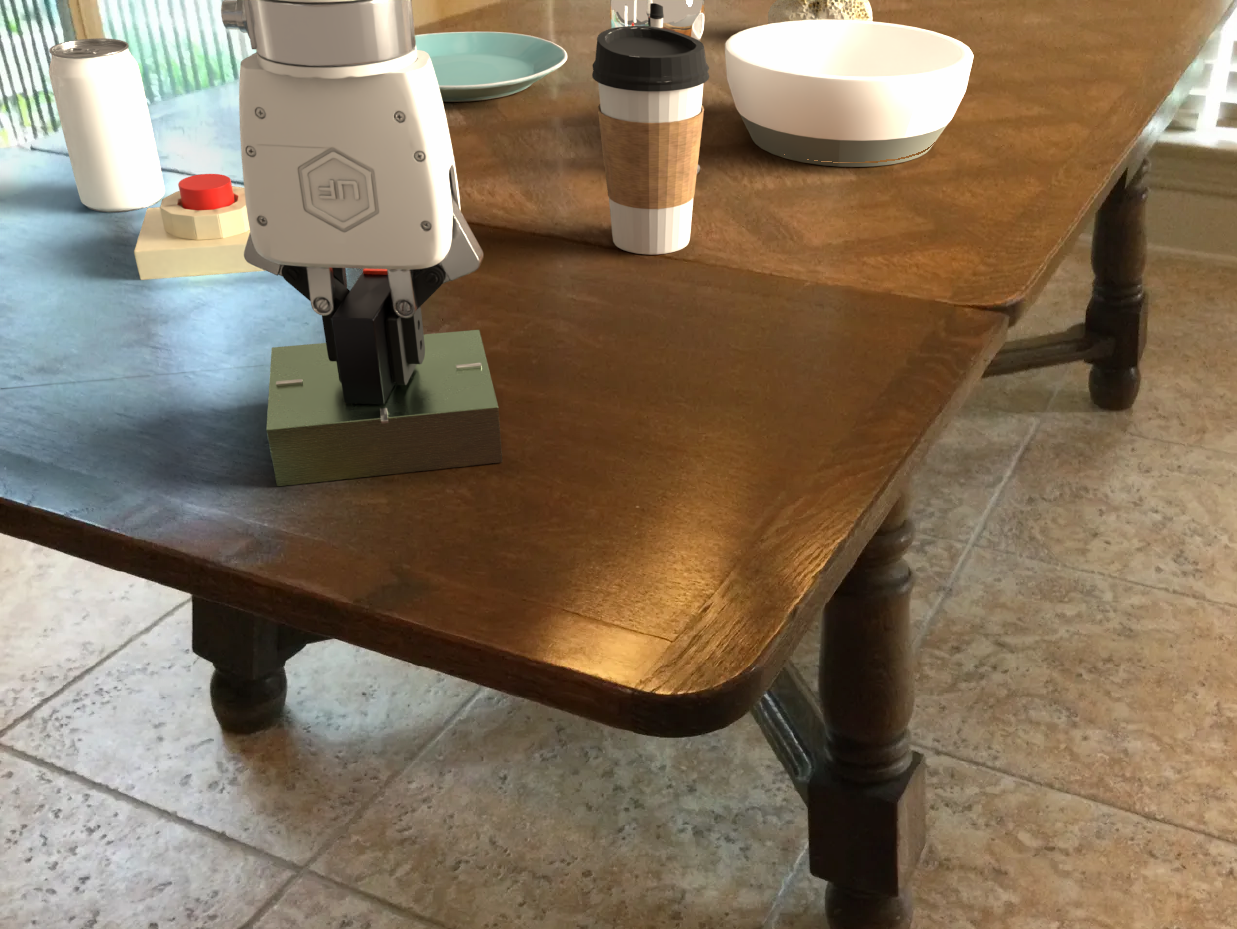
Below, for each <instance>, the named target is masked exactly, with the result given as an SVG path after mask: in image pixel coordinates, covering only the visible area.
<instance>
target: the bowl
mask: <svg viewBox="0 0 1237 929" xmlns="http://www.w3.org/2000/svg"><path fill="white" fill-rule="evenodd" d="M724 57H725V58H724V59H725V72H726V73H725V74H726V82H727V84H728V88H729V91H730V93H731V97H732V101H733V103H734V106H735V109H736V111H737V112H738V114H739V116H740V117H741V120H742V122H743V124H744V125H745V127H746V129H747V132H748V134H749V135H750V138H751V140H752V141H753V143H754V144H755V146H758V147H759V148H760V149H762V150H764V151H765V152H767V153H770V154H771V155H775V156H776V157H777V156H778V157H779V158H780V157H781V158H783V159H786V160H790V161H795V162H800V163H804V164H812V165H818V166H828V167H829V166H830V167H839V168H841V167H842V168H843V167H844V168H846V167H847V168H864V167H865V168H867V167H881V166H888V165H889V166H890V165H895V164H900V163H901V164H902V163H906V162H909V161H912V160H915V159H918V158H920V157H922V156H924V155H925V154H928V152H929V151H930V150H931V149H932V147H933V146H934V144H935V143H936V141H937V140H938V139H939V137H940V136H941V134H942V133H943V132H944V130H945V129H946V128H947V126H948V125H949V123H950V122H951V121H952V119H953V117H954V116H955V114H956V112H957V110H958V108H959V106H960V104H961V102H962V99H963V98H964V95H965V94H966V91H967V87H968V83H969V79H970V74H971V69H972V65H973V60H974V54H973V51H972V50H971V49H970V47H969V46H968V45H967V44H965V43H963V42H962V41H960V40H958V39H956V38H953V37H951V36H948V35H945V34H942V33H939V32H936V31H933V30H928V29H924V28H920V27H915V26H909V25H904V24H898V23H889V22H881V21H873V20H872V21H858V20H802V21H788V22H780V23H772V24H763V25H758V26H753V27H750V28H746V29H743V30H740V31H738V32H736V33H735V34H733V35H731V36H730V37H729V38H728V39H727V40H726V41H725V43H724ZM934 142H935V143H934ZM933 143H934V144H933ZM932 144H933V145H932ZM931 145H932V146H931ZM930 146H931V147H930ZM928 147H930V148H929V149H928V150H926V151H925V152H923V153H921V154H919V155H915V156H912V157H909V158H905V159H900V160H895V161H887V162H878V163H833V162H865V161H880V160H886V159H898V158H901V157H906V156H909V155H912V154H916V153H918V152H921V151H923V150H925V149H927V148H928ZM784 154H785V155H784ZM807 159H809V160H807ZM814 160H818V161H814ZM821 161H832V162H821Z"/></svg>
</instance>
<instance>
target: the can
mask: <svg viewBox="0 0 1237 929" xmlns="http://www.w3.org/2000/svg"><path fill="white" fill-rule="evenodd" d="M129 45H130V44H129V43H128V42H127V41H125V40H121V39H115V38H101V37H99V38H98V37H97V38H96V37H95V38H84V39H74V40H68V41H64V42H60V43H58V44H54V45H52V46H51V47H50V48H49V50H48V52H49V54H50V57H51V59H50V63H49V67H48V75H49V81H50V84H51V90H52V93H53V98H54V100H55V106H56V109H57V113H58V116H59V117H58V118H59V121H60V125H61V129H62V133H63V134H62V135H63V138H64V142H65V145H66V150H67V154H68V157H69V162H70V165H71V170H72V173H73V177H74V181H75V185H76V188H77V192H78V195H79V199H80V202H81V204H82V205H84V206H85V207H87V209H89V210H91V211H94V212H100V213H127V212H133V211H138V210H143V209H147V208H151V207H152V206H155V205H157V204H159V202H161V201H162V199H163V197H164V195H165V193H166V187H165V183H164V177H163V172H162V168H161V163H160V158H159V153H158V149H157V143H156V139H155V135H154V129H153V124H152V120H151V115H150V111H149V107H148V101H147V97H146V92H145V88H144V87H145V86H144V83H143V78H142V73H141V70H140V67H139V63H138V62H137V60H136V59H135V58H134V56H133V55H132V53H131V52H130V50H129V47H130V46H129Z"/></svg>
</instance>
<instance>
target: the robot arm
mask: <svg viewBox="0 0 1237 929" xmlns="http://www.w3.org/2000/svg"><path fill="white" fill-rule="evenodd" d="M413 10H414V9H413V1H412V0H222V3H221V7H220V16H221V22H222V24H223V26H224V28H225V29H226V30H237V31H240V32H241V33H243V34H247V36H248V38H249V40H250V42H249V43H250V47H251V50H255V51H256V52H254V53H252V54H250V55H248V56H247V57H245V58H244V59H242V60H241V61H240V67H239V84H238V85H239V86H238V90H239V91H238V112H239V115H238V116H239V136H240V137H239V138H240V139H239V140H240V156H241V167H242V179H243V188H244V190H245V200H246V208H247V215H248V222H249V228H250V233H249V237H248V240H247V243H246V247H245V250H244V258H245V260H246V261H247V262H248V263H250V264H251V265H254V266H256V267H258V268H261V269H263V270H265V271H264V272H267V273H270V274H272V275H274V276H280V277H282V278H283V279H284V280H285V281H286V282H287V283H288V284H289V285H290V286H291V287H293V288H294V289H295V290H296V291H297V292H299V293H300V294H301V295H302V296H303V297H304V298H305V299H307V300H308V301H309V302H310V306H311V309H312V310H313V312H314V313H316V314H317V315H319V316H321V319H322V320H321V321H322V326H323V332H324V339H325V343H326V346H327V353H328V358H329V360H330V361H336V362H337V369H338V375H339V381H340V383H341V378H340V371H339V364H338V358H337V351H336V344H335V338H334V331H333V324H332V317H333V315H334V314H335V312H336V311H337V309H338V308H339V306H340V305H341V303H342V302H343V301H344V299H345V298H346V296H347V295H348V293H349V292H350V290H351V289H349V288H348V280H347V270H346V269H362V270H363V269H387V272H388V279H389V285H390V291H391V298H392V302H391V303H390V308H391V311H390V313H389V315H388V316H387V318H386V321H385V327H386V335H387V343H388V351H389V359H390V367H391V375H392V381H393V382H396V384H397V385H406V384H407V383H408V381H409V379H410V377H411V375H412V373H413V371H414V369H415V367H416V365H417V364H422V362H423V360H424V357H425V343H424V326H423V316H422V306H423V305H424V303H425V302H426V301H427V300H428V299H429V298H431V297H432V296H433V295H434V294H435V292H436V291H438V290H439V288H440V287H442V285H443V284H446V283H449V282H452V281H455V280H457V279H460V278H462V277H465V276H468V275H470V274H472V273H474V272H476V271H478V270H479V268H480V266H481V264H482V262H483V260H484V257H485V256H484V251H483V249H482V247H481V246H480V244H479V242H478V240H477V238H476V237H475V235H474V234H475V233H474V232H473V231H472V229H471V227H470V224H469V223H468V222H467V220H466V218H465V217H464V214H463V212H462V210H461V199H460V189H459V182H458V175H457V168H456V162H455V156H454V150H453V145H452V140H451V139H452V138H451V134H450V128H449V125H448V120H447V115H446V111H445V106H444V102H443V101H442V97H441V93H440V89H439V86H438V82H437V79H436V75H435V72H434V68H433V65H432V62H431V59H430V56H429V54H428V53H426V52H425V51H421V50H416V40H415V35H416V32H415V22H414V21H415V20H414V11H413Z"/></svg>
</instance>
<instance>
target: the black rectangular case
mask: <svg viewBox="0 0 1237 929" xmlns="http://www.w3.org/2000/svg"><path fill="white" fill-rule="evenodd" d="M349 290H350V292H349V293H348V295H347V296H346V298H345V299H344V301H343V302H342V303H341V305H340V306H339V308H338V309H337V311H336V312H335V314H334V315H333V317H332V324H333V331H334V338H335V344H336V351H337V358H338V364H339V371H340V378H341V385H342V391H343V398H344V403H352V404H380V405H384V404H385V402H386V400H387V398H388V396H389V394H390V393H391V391H392V389H393V387H394V385H395V383H396V382H393V381H392V375H391V367H390V359H389V351H388V343H387V335H386V327H385V321H386V318H387V316H388V315H389V313H390V311H391V308H390V303H391V302H392V298H391V291H390V285H389V279H388V272H387V269H363V268H362V272H361V273H360V275H359V277H358V278H357V279H356V281H355V283H354V284H353V286H352V287H351V288H350V289H349Z"/></svg>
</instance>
